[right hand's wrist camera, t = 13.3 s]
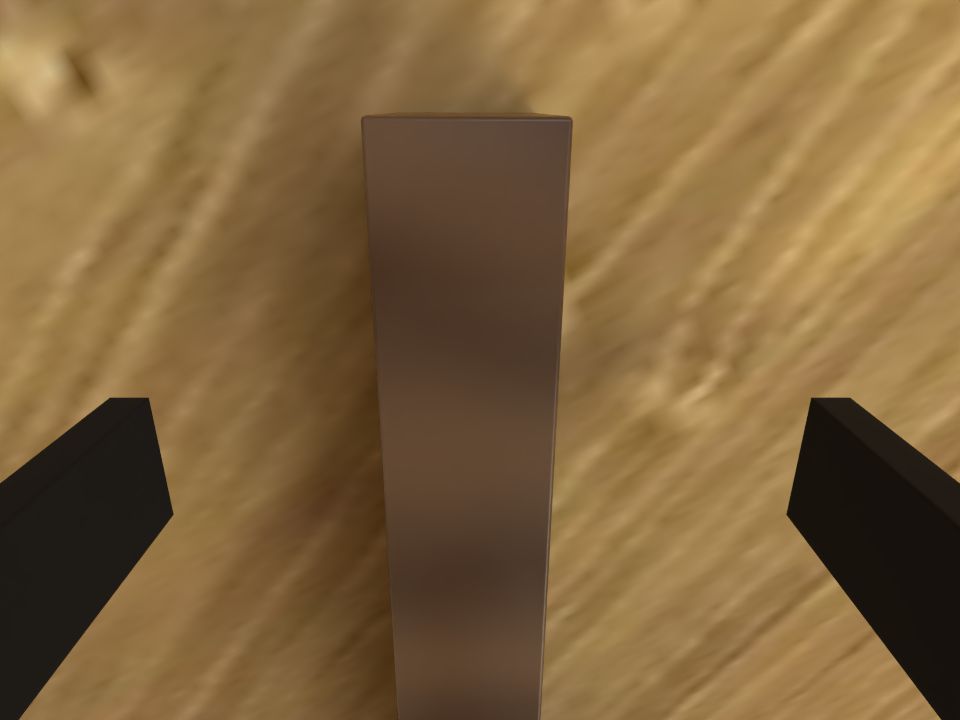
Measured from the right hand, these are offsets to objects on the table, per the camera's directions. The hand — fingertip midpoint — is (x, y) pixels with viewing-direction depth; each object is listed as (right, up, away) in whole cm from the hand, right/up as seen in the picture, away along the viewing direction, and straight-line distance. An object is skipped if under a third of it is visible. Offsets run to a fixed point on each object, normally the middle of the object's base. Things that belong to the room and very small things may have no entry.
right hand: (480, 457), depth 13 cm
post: (-1, -15, +18) cm, 23 cm away
